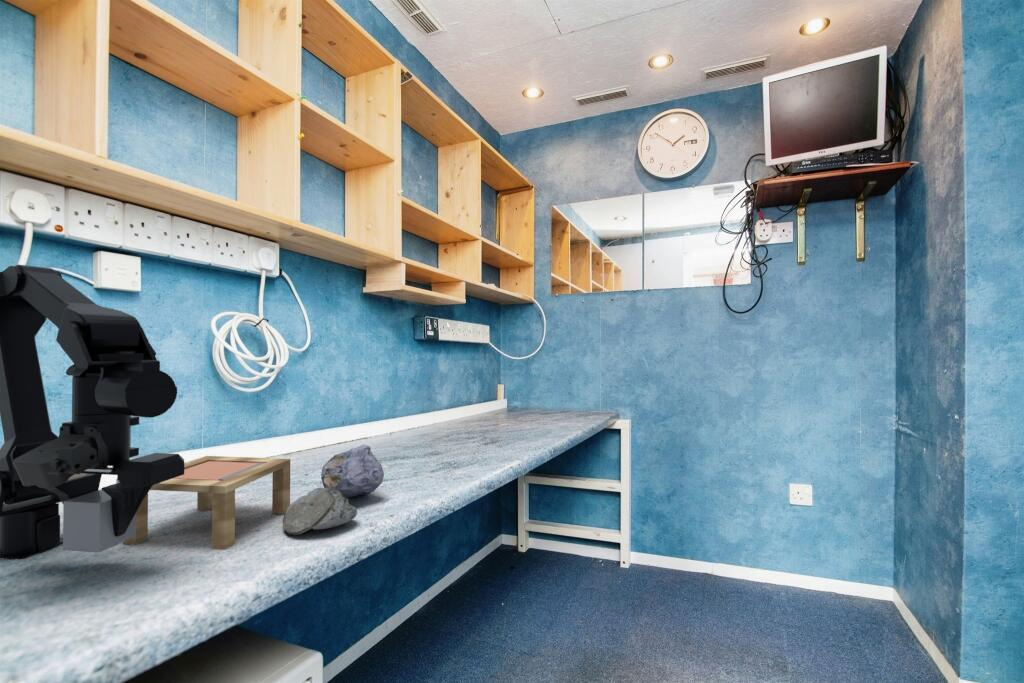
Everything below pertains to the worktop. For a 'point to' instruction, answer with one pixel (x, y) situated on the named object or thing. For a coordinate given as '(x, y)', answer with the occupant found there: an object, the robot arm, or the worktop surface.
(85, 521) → the grey block
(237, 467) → the trapdoor
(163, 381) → the robot arm
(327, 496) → the fossilized seashell
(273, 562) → the worktop surface
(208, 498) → the trapdoor frame
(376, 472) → the rock
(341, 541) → the worktop surface
